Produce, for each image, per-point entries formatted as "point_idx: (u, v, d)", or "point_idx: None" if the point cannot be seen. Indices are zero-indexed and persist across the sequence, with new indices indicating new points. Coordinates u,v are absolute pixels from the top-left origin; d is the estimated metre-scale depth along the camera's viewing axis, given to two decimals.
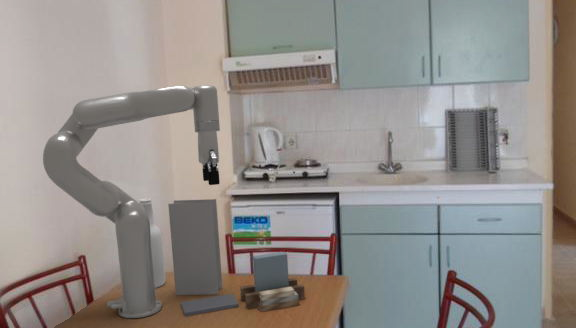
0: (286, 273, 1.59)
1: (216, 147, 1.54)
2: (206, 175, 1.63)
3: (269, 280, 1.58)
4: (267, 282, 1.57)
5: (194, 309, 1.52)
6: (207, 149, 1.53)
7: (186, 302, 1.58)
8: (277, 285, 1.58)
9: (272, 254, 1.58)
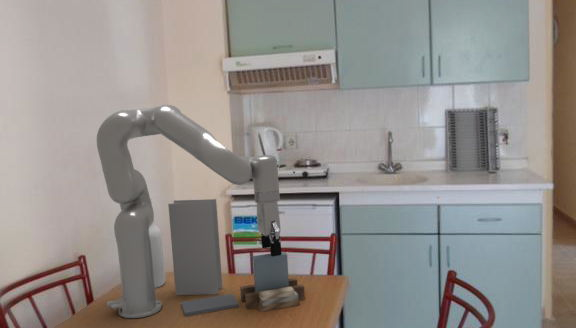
0: (286, 273, 1.59)
1: (278, 218, 1.53)
2: (265, 242, 1.62)
3: (269, 280, 1.58)
4: (267, 282, 1.57)
5: (194, 309, 1.52)
6: (269, 221, 1.52)
7: (186, 302, 1.58)
8: (277, 285, 1.58)
9: None
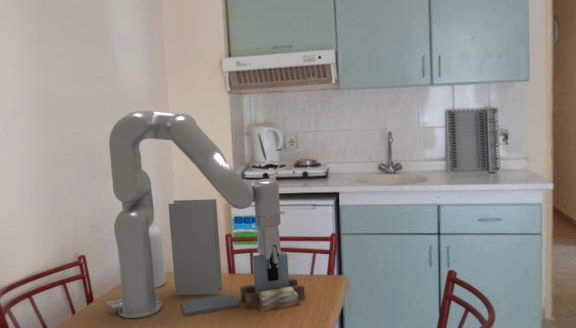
0: (286, 273, 1.59)
1: (278, 242, 1.54)
2: None
3: None
4: (267, 282, 1.57)
5: (194, 309, 1.52)
6: (270, 245, 1.53)
7: (186, 302, 1.58)
8: (277, 285, 1.58)
9: None
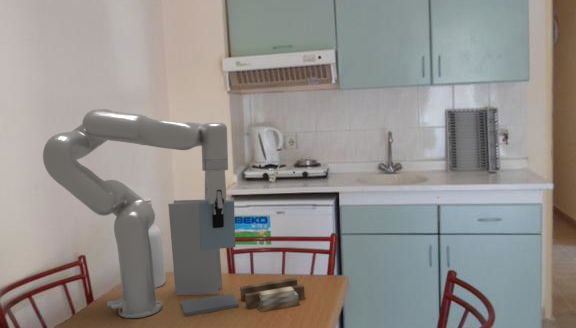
0: (232, 221, 1.55)
1: (224, 187, 1.49)
2: None
3: None
4: (212, 228, 1.53)
5: (194, 309, 1.52)
6: (214, 189, 1.48)
7: (186, 302, 1.58)
8: (222, 233, 1.54)
9: None
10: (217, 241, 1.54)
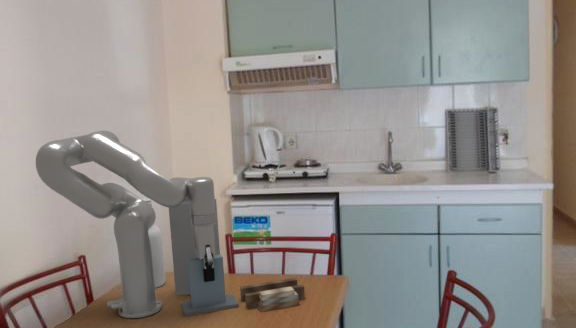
0: (222, 276, 1.56)
1: (212, 242, 1.51)
2: None
3: (204, 284, 1.54)
4: (201, 285, 1.54)
5: (194, 309, 1.52)
6: (203, 244, 1.50)
7: (186, 302, 1.58)
8: (212, 289, 1.55)
9: None
10: (207, 298, 1.55)
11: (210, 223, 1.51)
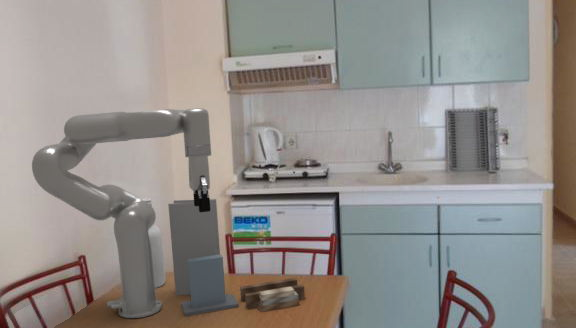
0: (222, 276, 1.56)
1: (207, 173, 1.48)
2: (197, 200, 1.57)
3: (204, 284, 1.54)
4: (201, 285, 1.54)
5: (194, 309, 1.52)
6: (197, 175, 1.47)
7: (186, 302, 1.58)
8: (212, 289, 1.55)
9: (208, 257, 1.55)
10: (207, 298, 1.55)
11: (205, 154, 1.49)
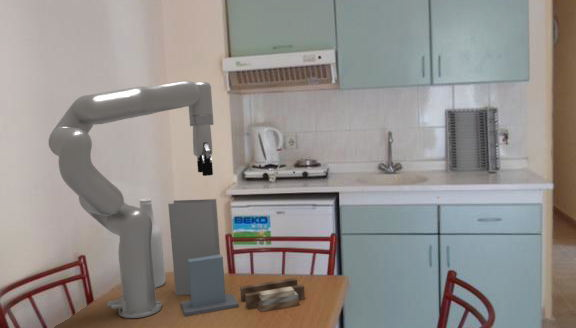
0: (222, 276, 1.56)
1: (210, 140, 1.64)
2: (200, 167, 1.73)
3: (204, 284, 1.54)
4: (201, 285, 1.54)
5: (194, 309, 1.52)
6: (201, 142, 1.63)
7: (186, 302, 1.58)
8: (212, 289, 1.55)
9: (208, 257, 1.55)
10: (207, 298, 1.55)
11: (208, 123, 1.64)
